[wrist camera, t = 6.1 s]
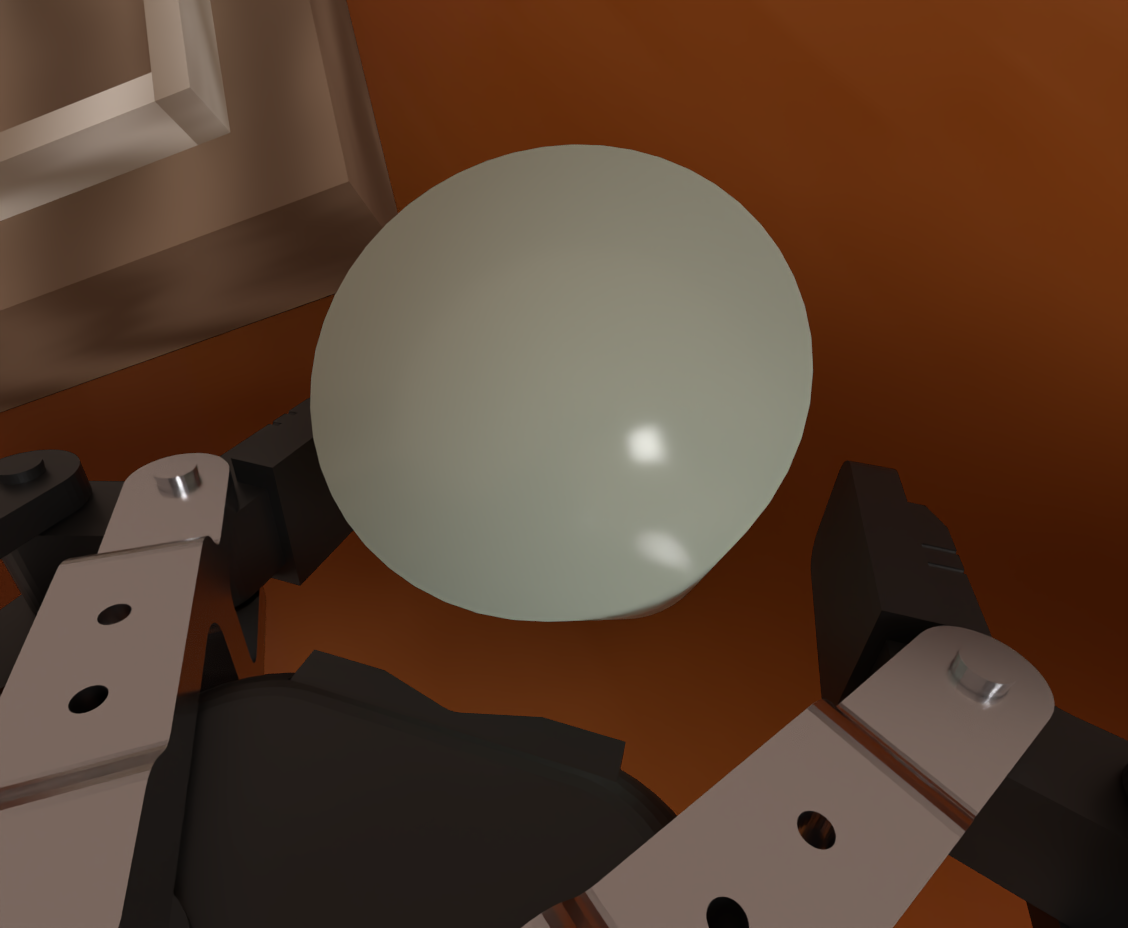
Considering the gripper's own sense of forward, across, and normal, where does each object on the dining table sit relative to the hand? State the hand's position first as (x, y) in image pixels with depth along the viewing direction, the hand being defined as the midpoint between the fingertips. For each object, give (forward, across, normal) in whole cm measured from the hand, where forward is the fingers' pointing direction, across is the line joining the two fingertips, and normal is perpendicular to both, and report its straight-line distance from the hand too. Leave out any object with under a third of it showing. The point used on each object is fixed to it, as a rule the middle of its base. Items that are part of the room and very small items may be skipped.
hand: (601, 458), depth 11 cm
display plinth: (+11, +19, -2) cm, 22 cm away
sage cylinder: (+4, 0, +4) cm, 6 cm away
